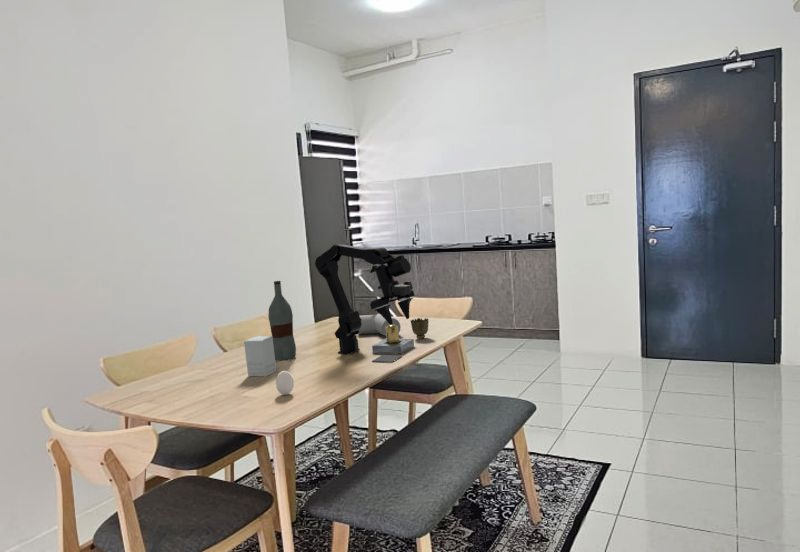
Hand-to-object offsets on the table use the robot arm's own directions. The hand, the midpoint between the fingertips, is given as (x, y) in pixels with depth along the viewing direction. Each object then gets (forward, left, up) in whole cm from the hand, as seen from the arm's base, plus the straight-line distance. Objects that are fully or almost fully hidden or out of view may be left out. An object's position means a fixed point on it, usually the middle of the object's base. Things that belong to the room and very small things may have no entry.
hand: (399, 321), depth 208 cm
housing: (-8, +8, -13) cm, 17 cm away
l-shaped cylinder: (-27, +34, -13) cm, 46 cm away
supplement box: (-41, -30, -13) cm, 52 cm away
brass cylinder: (-8, +8, -13) cm, 17 cm away
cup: (-5, +28, -13) cm, 32 cm away
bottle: (-46, -10, -13) cm, 48 cm away
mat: (-4, -6, -13) cm, 14 cm away
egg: (-17, -49, -13) cm, 53 cm away
